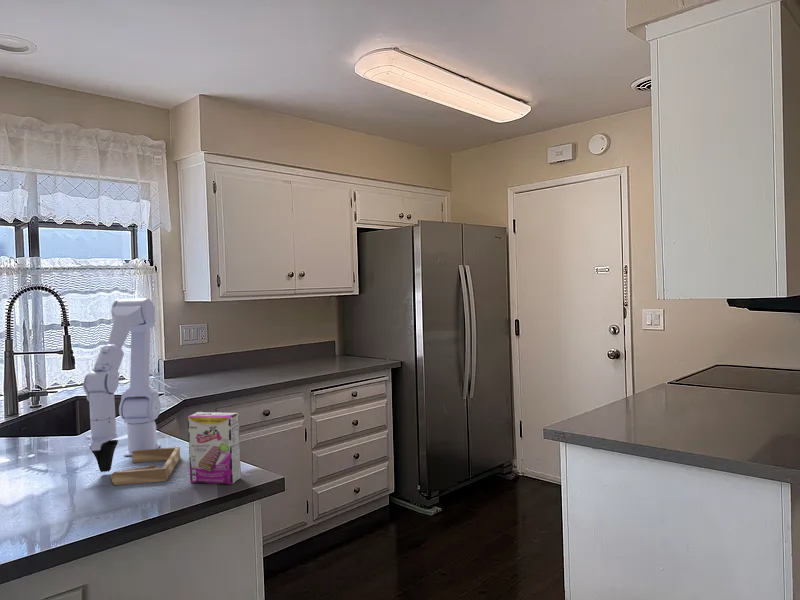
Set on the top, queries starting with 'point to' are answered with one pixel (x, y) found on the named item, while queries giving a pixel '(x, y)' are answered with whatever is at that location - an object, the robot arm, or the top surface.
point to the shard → (136, 469)
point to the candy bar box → (214, 447)
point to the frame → (149, 474)
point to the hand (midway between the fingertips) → (105, 470)
